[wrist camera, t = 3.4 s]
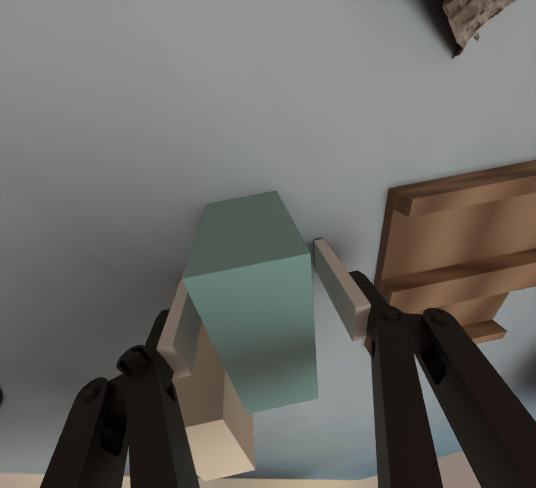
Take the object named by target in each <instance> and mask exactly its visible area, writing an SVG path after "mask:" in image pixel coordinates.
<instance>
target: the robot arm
mask: <svg viewBox="0 0 536 488" xmlns="http://www.w3.org/2000/svg"><path fill="white" fill-rule="evenodd" d="M314 253H315V270H316V271H317V273H318V275H319V277H320V279H321V281H322V283H323V285H324V287H325V289H326V291H327V293H328V295H329V297H330V299H331V300H332V302H333V304H334V306H335V308H336V310H337V312H338V314H339V316H340V318H341V320H342V322H343V324H344V326H345V328H346V330H347V331H348V333H349V335H350V337H351V339H352V341H356V340H361V339H365V338H366V334H367V333H368V335H369V336H370V338H371V342H370V348H369V352H371V365H372V383H373V401H374V419H375V438H376V456H377V474H378V488H443V485H442V480H441V476H440V471H439V467H438V462H437V458H436V453H435V449H434V444H433V439H432V435H431V430H430V426H429V421H428V417H427V412H426V408H425V403H424V399H423V394H422V390H421V385H420V381H419V376H418V372H417V367H416V363H415V358H414V354H415V356H416V358H417V360H418V362H419V364H420V366H421V368H422V370H423V372H424V374H425V376H426V378H427V380H428V382H429V384H430V386H431V388H432V390H433V392H434V394H435V396H436V398H437V400H438V402H439V404H440V406H441V408H442V410H443V412H444V414H445V416H446V418H447V420H448V422H449V424H450V426H451V428H452V430H453V432H454V434H455V436H456V438H457V440H458V442H459V444H460V446H461V448H462V450H463V452H464V454H465V455H466V457H467V460H468V462H469V464H470V466H471V468H472V470H473V472H474V474H475V475H476V478H477V480H478V482H479V483H480V485H481V488H536V421H535V420H534V419H533V417H532V416H531V415H530V414H529V412H528V411H527V410H526V408H525V407H524V406H523V405H522V403H521V402H520V401H519V399H518V398H517V397H516V396H515V394H514V393H513V392H512V391H511V389H510V388H509V387H508V385H507V384H506V383H505V382H504V380H503V379H502V378H501V376H500V375H499V374H498V373H497V371H496V370H495V369H494V367H493V366H492V365H491V364H490V362H489V361H488V360H487V358H486V357H485V356H484V355H483V353H482V352H481V351H480V349H479V348H478V347H477V346H476V344H475V343H474V342H473V340H472V339H471V338H470V337H469V335H468V334H467V333H466V331H465V330H464V329H463V328H462V326H461V325H460V324H459V322H458V321H457V320H456V319H455V318H454V317H453V316H452V315H451V314H450V313H448V312H446V311H445V310H442V309H439V308H427V309H426V310H424V311H423V314H411V313H403V312H402V311H401V310H400V309H398V308H396V307H394V306H390V305H389V304H388V303H387V301H386V300H385V299H384V298H383V297H382V295H381V294H380V293H379V292H378V290H377V289H376V288H375V287H374V286H373V284H372V283H371V282H370V281H369V279H368V278H367V277H366V276H365V275H364V274H362V273H361V272H359V271H353V272H347V270H346V269H345V267H344V266H343V265H342V263H341V262H340V261H339V259H338V258H337V256H336V255H335V254H334V252H333V251H332V249H331V248H330V247H329V245H328V244H327V242H326V241H325V240H324V239H320V240H315V241H314ZM185 268H186V266H185ZM184 271H185V269H184ZM183 274H184V272H183ZM182 277H183V275H182ZM182 277H181V280H180V283H179V286H178V289H177V292H176V294H175V297H174V300H173V303H172V306H171V309H168V310H163V311H162V312H161V313H160V314H159V315H158V316H157V318H156V320H155V322H154V325H153V327H152V330H151V333H150V335H149V337H148V339H147V342H146V344H145V346H143V345H137V346H134V347H132V348H130V349H129V350H127V351H126V352H125V353H124V354H123V355H122V356H121V357H120V359H119V360H118V362H117V366H116V367H117V368H118V369H119V370H120V371H121V372H122V373H123V374H122V375H120V376H118V377H116V378H114V379H112V380H110V381H108V380H107V379H106V378H103V377H100V378H96V379H94V380H92V381H91V382H89V383H88V384H87V385H85V386H84V387H83V388H82V389H81V391H80V392H79V393H78V395H77V396H76V398H75V400H74V403H73V405H72V408H71V410H70V413H69V415H68V418H67V420H66V423H65V426H64V428H63V431H62V433H61V436H60V438H59V441H58V443H57V446H56V448H55V451H54V453H53V456H52V458H51V461H50V463H49V466H48V468H47V471H46V473H45V476H44V479H43V481H42V484H41V486H40V488H121V487H122V481H123V476H124V470H125V464H126V458H127V452H128V446H129V462H130V483H131V488H200V487H199V482H198V478H197V474H196V470H195V466H194V462H193V458H192V454H191V450H190V446H189V442H188V438H187V433H186V429H185V425H184V421H183V417H182V413H181V409H180V405H179V401H178V397H177V393H176V389H175V385H174V383H173V382H172V379H173V375H174V374H175V375H176V376H177V378H181V377H186V376H191V375H192V371H193V366H194V360H195V355H196V349H197V343H198V338H199V332H200V326H201V321H202V320H201V318H200V316H199V314H198V312H197V310H196V308H195V306H194V304H193V301H192V299H191V297H190V295H189V293H188V291H187V289H186V287H185V285H184V283H183V281H182ZM0 404H1V395H0Z"/></svg>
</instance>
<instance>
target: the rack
mask: <svg viewBox="0 0 536 488" xmlns="http://www.w3.org/2000/svg"><path fill="white" fill-rule="evenodd" d="M534 286H536V160H535V161H530V162H525V163H519V164H514V165H509V166H504V167H499V168H493V169H488V170H483V171H478V172H473V173H467V174H462V175H457V176H452V177H447V178H441V179H436V180H431V181H426V182H421V183H415V184H410V185H405V186H400V187H395V188H389V192H388V199H387V205H386V212H385V218H384V225H383V231H382V238H381V244H380V251H379V257H378V264H377V270H376V277H375V283H374V287H375V288H376V289H377V290H378V292H379V293H380V294H381V295H382V297H383V298H384V299H385V300H386V301H387V303H388V304H389V305H390V306H394V307H396V308H398V309H400V310H401V311H402V312H403V313H411V314H423V311H424V310H426V309H427V308H439V309H442V310H445V311H446V312H448V313H450V314H451V315H452V316H453V317H454V318H455V319H456V320H457V321H458V322H459V324H460V325H461V326H462V328H463V329H464V330H465V331H466V333H467V334H468V335H469V337H470V338H471V339H472V340H473V342H474V343H475V344H478V343H483V342H488V341H492V340H497V339H501V338H503V337H504V335H505V334H506V332H507V331H506V330H505V329H504V328H502V327H501V326H500V325H499V324H497V323H496V322H495V321H494V320H492V319H493V318H494V316H495V315H496V313H497V311H498V310H499V308H500V307H501V305H502V303H503V302H504V300H505V299H506V297H507V295H508V294H509V292H510V291H515V290H520V289H525V288H529V287H534ZM370 342H371V338H370V336H369V335H368V333H367V335H366V342H365V347H366V349H367V350H368V352H369V348H370ZM369 354H370V356H371V352H369ZM414 357H416V356H415V354H414Z"/></svg>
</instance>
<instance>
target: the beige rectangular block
mask: <svg viewBox="0 0 536 488" xmlns="http://www.w3.org/2000/svg"><path fill="white" fill-rule="evenodd" d="M172 382H173V383H174V385H175V389H176V393H177V397H178V401H179V405H180V409H181V413H182V417H183V421H184V425H185V429H186V433H187V438H188V442H189V446H190V450H191V454H192V458H193V462H194V466H195V470H196V474H197V475H198V476H199V477H200V478H201V479H203V480H204V481H209V480H213V479H218V478H222V477H226V476H231V475H235V474H239V473H244V472H248V471H252V470H255V455H254V436H253V417H252V413H249V414H247V413H246V411H245V409H244V407H243V405H242V403H241V401H240V399H239V397H238V395H237V393H236V391H235V388H234V386H233V384H232V382H231V380H230V378H229V376H228V374H227V372H226V370H225V368H224V366H223V364H222V362H221V359H220V357H219V355H218V353H217V351H216V349H215V347H214V345H213V343H212V341H211V339H210V337H209V335H208V333H207V330H206V328H205V326H204V325H203V326H200V332H199V338H198V343H197V349H196V355H195V360H194V366H193V371H192V375H191V376H186V377H181V378H177V376H176V375H175V374H174V375H173V379H172Z"/></svg>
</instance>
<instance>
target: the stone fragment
mask: <svg viewBox="0 0 536 488" xmlns="http://www.w3.org/2000/svg"><path fill="white" fill-rule="evenodd" d="M515 1H516V0H444V2H443V9H444V12H445V13H446V15H447V16H448V21H449V24H450V26H451V29H452V31H453V34H454V36H455V38H456V41H457V43H458V44H459V45H460V46H461V47H460V49H459V51H458V52H457V54H456V55H455V56H458V55H460V54H461V53H462V52H463V50H464V48H465V46H466V45H467V43H468V39H470V38H471V37H472V36H473V35H474V34H475V32H476V31H477V30H478V29H479V28H480V27H481V26H482V25H483V24H484V23H485V22H486V21H487V20H489V19H490V18H492V17H494V16H495V15H497V14H499V13H500V12H501V11H502V10H503V9H504V8H505V7H506V6H508V5H509V4H511V3H512V2H515ZM474 38H475V39H476V40H477V41H478V39H479V33H477V34H476V35H475V36H474ZM455 56H454V57H455ZM454 57H453V58H454Z"/></svg>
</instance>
